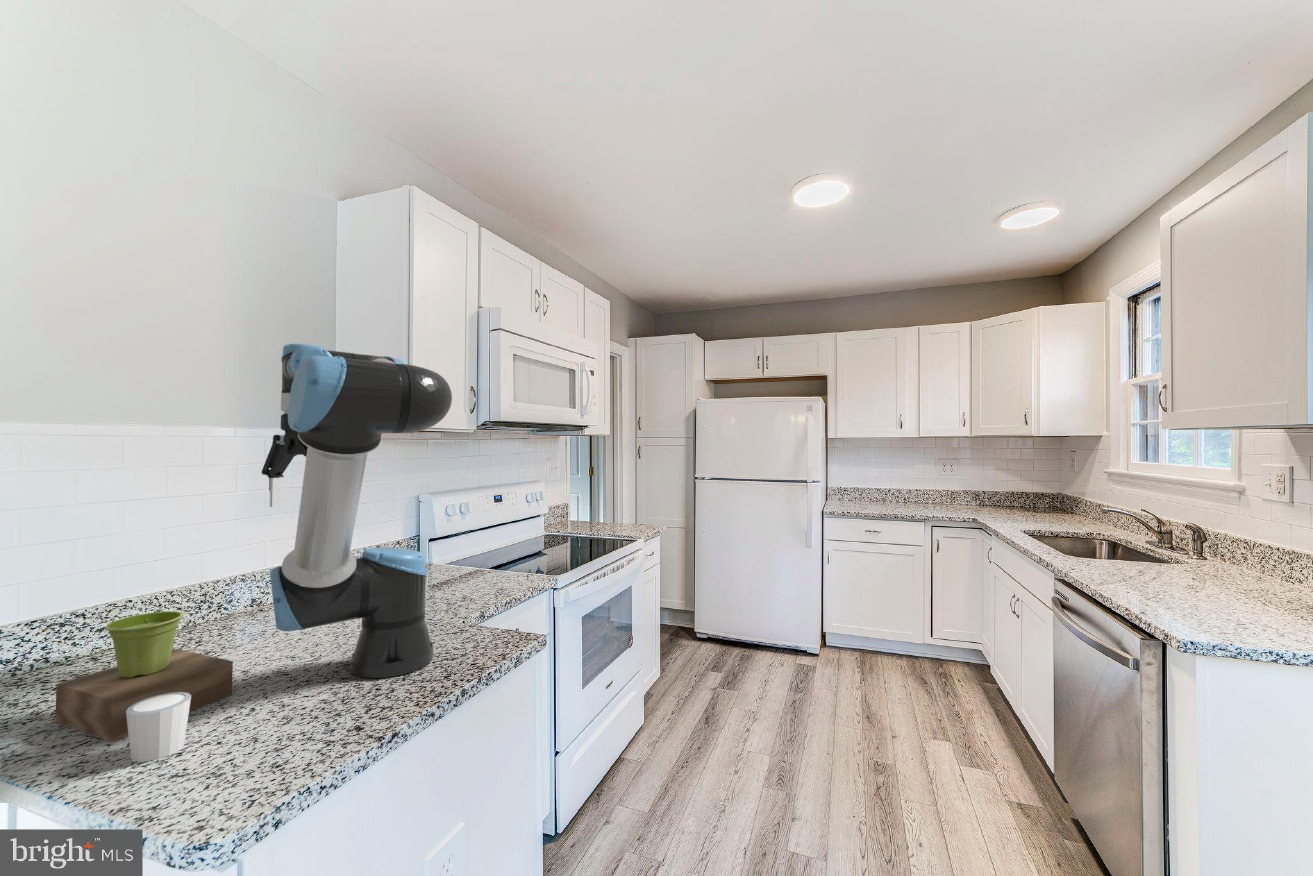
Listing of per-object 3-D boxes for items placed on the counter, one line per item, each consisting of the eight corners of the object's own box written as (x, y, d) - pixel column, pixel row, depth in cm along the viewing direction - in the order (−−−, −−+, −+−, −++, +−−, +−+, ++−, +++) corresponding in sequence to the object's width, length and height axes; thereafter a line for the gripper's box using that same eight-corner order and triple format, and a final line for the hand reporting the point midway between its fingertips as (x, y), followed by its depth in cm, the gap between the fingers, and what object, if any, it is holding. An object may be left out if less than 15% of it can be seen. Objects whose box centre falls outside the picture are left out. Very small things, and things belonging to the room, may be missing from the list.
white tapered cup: (125, 750, 76) (126, 701, 76) (188, 733, 81) (189, 687, 81) (124, 771, 71) (125, 719, 71) (191, 751, 76) (192, 702, 76)
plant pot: (133, 685, 84) (135, 630, 84) (88, 680, 85) (89, 626, 86) (195, 662, 93) (197, 613, 93) (153, 658, 95) (155, 609, 95)
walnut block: (231, 695, 93) (232, 661, 93) (113, 742, 78) (114, 701, 78) (176, 681, 99) (176, 648, 99) (55, 722, 84) (56, 684, 84)
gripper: (358, 414, 119) (356, 508, 118) (276, 415, 126) (274, 503, 126) (328, 411, 112) (326, 511, 111) (244, 413, 119) (241, 507, 119)
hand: (299, 507), depth 119 cm, fingers open, 13 cm apart
